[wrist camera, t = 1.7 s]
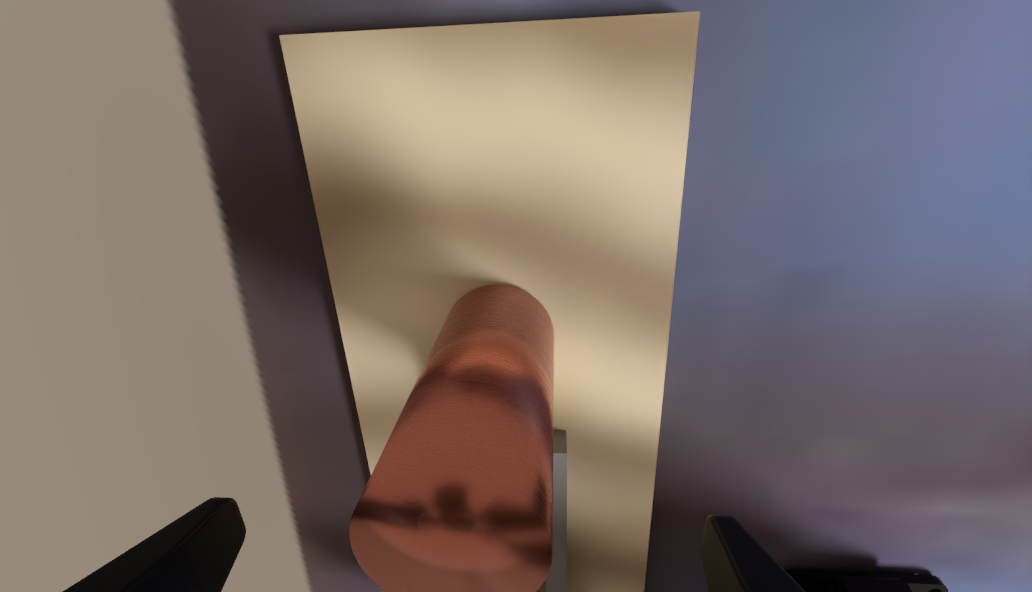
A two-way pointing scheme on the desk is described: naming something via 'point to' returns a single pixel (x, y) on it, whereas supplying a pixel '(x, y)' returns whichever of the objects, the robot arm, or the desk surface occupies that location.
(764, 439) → the desk surface
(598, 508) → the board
